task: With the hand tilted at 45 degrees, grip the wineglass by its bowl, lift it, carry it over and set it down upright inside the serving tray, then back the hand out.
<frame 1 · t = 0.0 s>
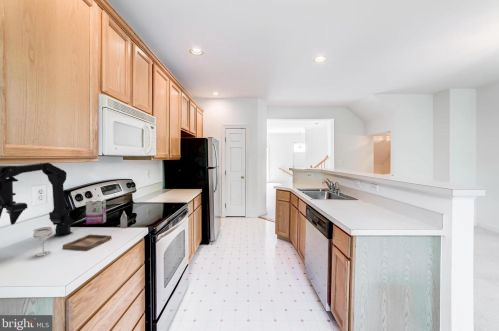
hand: (4, 224, 103), 15 cm above the worktop, tool pointing down, fingers open, 9 cm apart
tray: (88, 243, 117), on the worktop
candy bar box: (96, 223, 155), on the worktop
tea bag: (123, 226, 148), on the worktop
wineglass: (43, 253, 105), on the worktop
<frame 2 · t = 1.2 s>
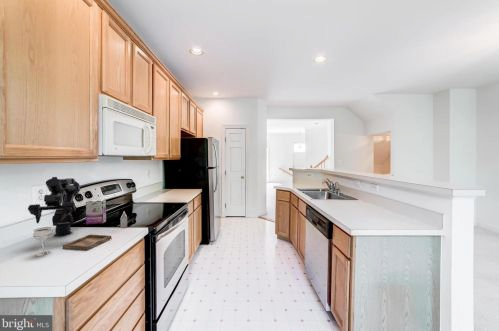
hand: (49, 221, 111), 13 cm above the worktop, tool tilted 45°, fingers open, 9 cm apart
nothing on the worktop moved.
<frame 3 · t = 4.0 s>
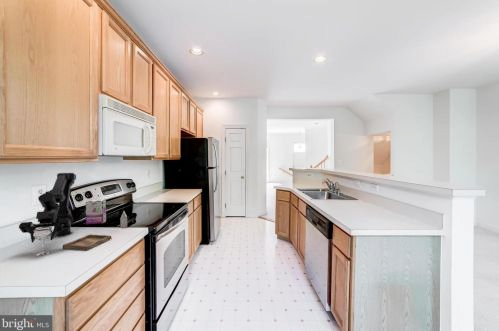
hand: (41, 241, 103), 7 cm above the worktop, tool tilted 45°, fingers closed on wineglass, 6 cm apart
wineglass: (43, 253, 105), on the worktop, touching gripper
everything else where it was.
when the fingers open (8 cm above the worktop, at t = 8.4 s): wineglass drops 1 cm, resting on tray.
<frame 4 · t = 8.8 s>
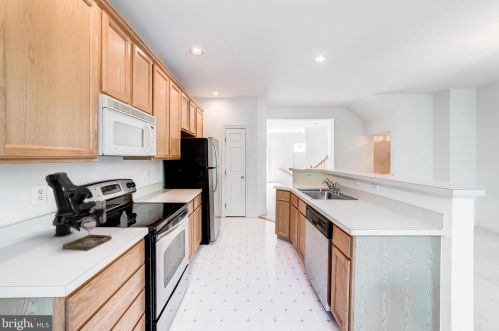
hand: (89, 228, 116), 9 cm above the worktop, tool tilted 45°, fingers open, 9 cm apart
wineglass: (88, 242, 117), resting on tray
everything else where it was.
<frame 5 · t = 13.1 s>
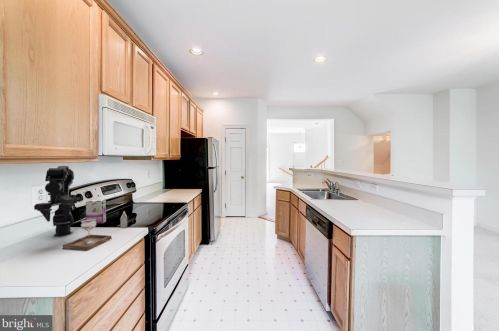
hand: (57, 219, 118), 13 cm above the worktop, tool pointing down, fingers open, 9 cm apart
nothing on the worktop moved.
at the end: wineglass inside the target area on the tray (0.3 cm from its centre), point 0.4 cm above the tray's base; wineglass tilted 0°; the gripper is holding nothing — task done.
